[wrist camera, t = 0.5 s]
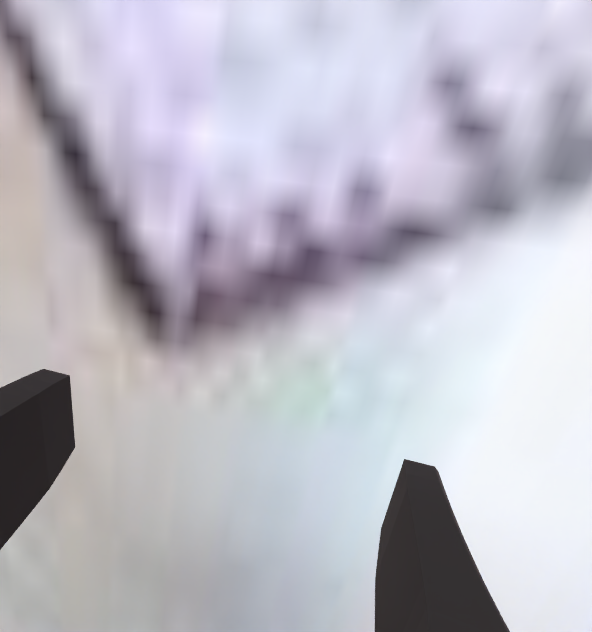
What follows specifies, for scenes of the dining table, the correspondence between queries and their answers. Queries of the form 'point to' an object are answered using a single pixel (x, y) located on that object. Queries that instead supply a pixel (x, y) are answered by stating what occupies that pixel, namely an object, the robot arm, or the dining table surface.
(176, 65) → the dining table surface
